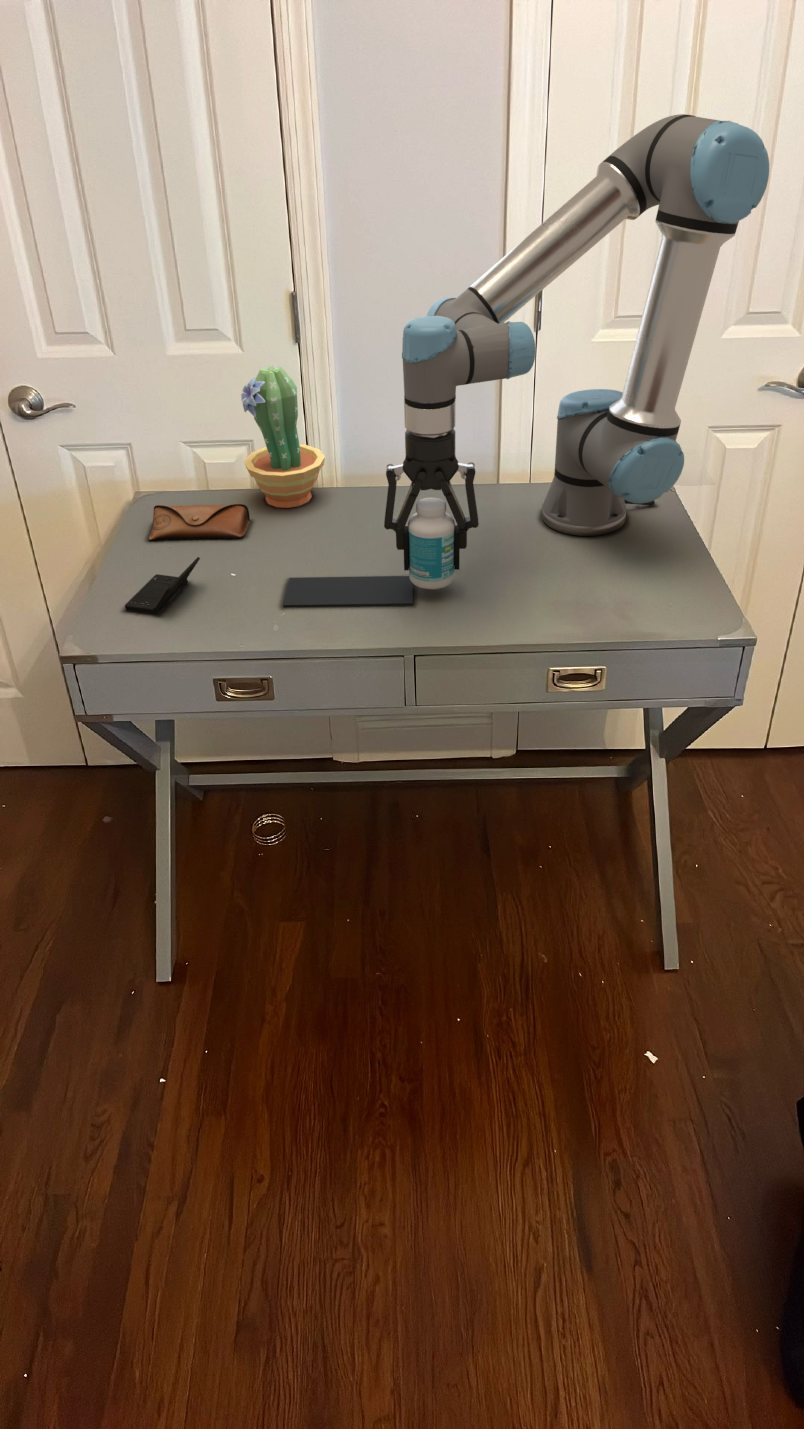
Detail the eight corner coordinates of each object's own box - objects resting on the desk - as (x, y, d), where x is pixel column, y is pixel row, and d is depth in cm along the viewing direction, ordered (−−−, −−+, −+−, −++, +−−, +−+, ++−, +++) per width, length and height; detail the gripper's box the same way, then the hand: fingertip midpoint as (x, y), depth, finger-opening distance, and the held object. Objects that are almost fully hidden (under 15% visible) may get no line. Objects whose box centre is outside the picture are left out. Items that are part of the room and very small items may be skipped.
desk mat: (413, 577, 168) (413, 575, 167) (412, 605, 160) (412, 603, 160) (289, 579, 168) (289, 577, 168) (283, 607, 161) (283, 605, 161)
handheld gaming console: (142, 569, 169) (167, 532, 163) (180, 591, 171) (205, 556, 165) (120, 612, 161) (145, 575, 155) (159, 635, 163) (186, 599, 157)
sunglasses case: (146, 540, 180) (144, 503, 180) (156, 542, 187) (154, 506, 187) (245, 537, 180) (243, 500, 180) (251, 540, 187) (249, 504, 187)
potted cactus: (251, 483, 200) (235, 357, 185) (328, 479, 201) (317, 353, 186) (246, 517, 188) (228, 385, 173) (328, 512, 188) (317, 381, 173)
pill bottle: (450, 593, 159) (450, 515, 151) (405, 589, 160) (402, 512, 152) (457, 570, 165) (458, 494, 157) (414, 567, 166) (412, 492, 158)
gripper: (497, 418, 150) (493, 554, 164) (363, 421, 151) (370, 555, 164) (500, 437, 144) (495, 576, 158) (360, 439, 145) (368, 578, 158)
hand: (431, 565), depth 161 cm, fingers closed on pill bottle, 7 cm apart
